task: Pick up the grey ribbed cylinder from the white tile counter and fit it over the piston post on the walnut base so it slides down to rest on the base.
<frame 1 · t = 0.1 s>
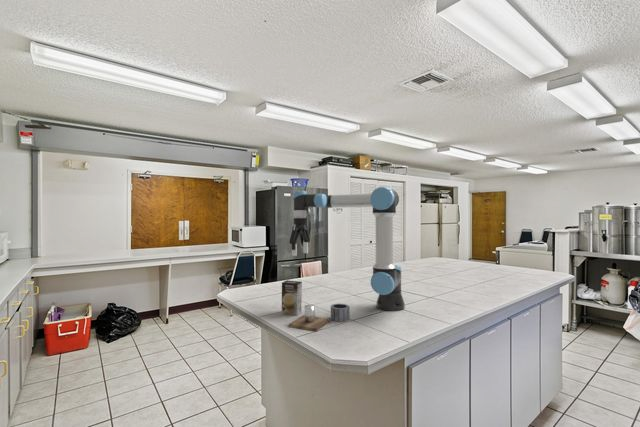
hand: (300, 254, 180), 28 cm above the table, fingers open, 13 cm apart
base: (309, 323, 144), on the table
coffee box: (291, 313, 161), on the table
grey ribbed cylinder: (340, 318, 152), on the table
post: (309, 313, 144), on the base, point 5 cm above the table
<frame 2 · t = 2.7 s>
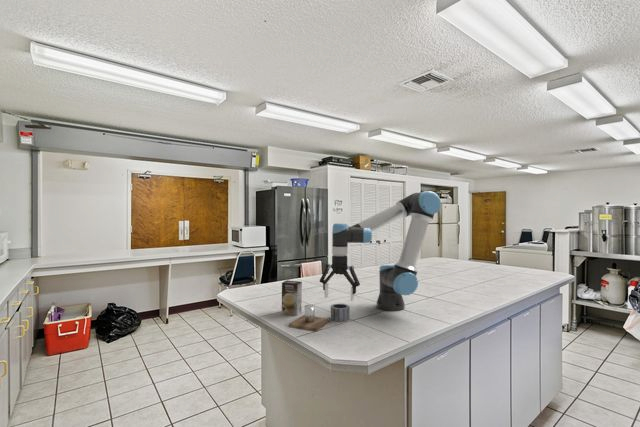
hand: (339, 298, 152), 10 cm above the table, fingers open, 13 cm apart
nothing on the table moved.
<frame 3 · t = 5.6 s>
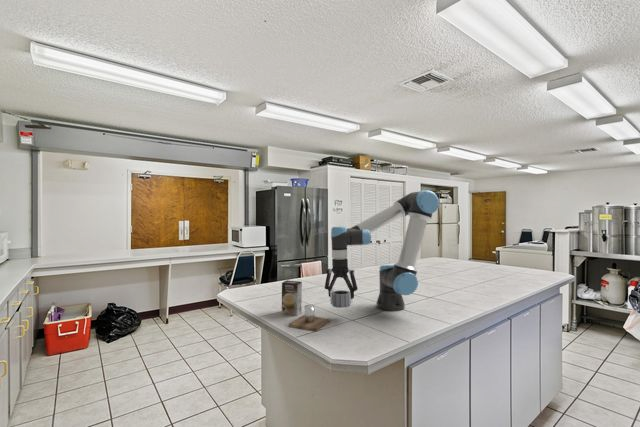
hand: (341, 304, 152), 7 cm above the table, fingers closed on grey ribbed cylinder, 9 cm apart
grey ribbed cylinder: (341, 304, 152), point 7 cm above the table, touching gripper
everything else where it was.
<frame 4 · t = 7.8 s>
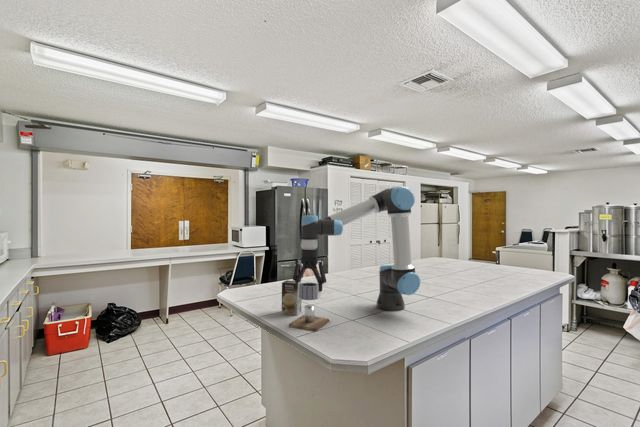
hand: (309, 297, 144), 12 cm above the table, fingers closed on grey ribbed cylinder, 9 cm apart
grey ribbed cylinder: (309, 297, 144), point 12 cm above the table, touching gripper
everything else where it was.
when the fingers open (5 cm above the table, at t = 9.9 s): grey ribbed cylinder drops 3 cm, resting on base.
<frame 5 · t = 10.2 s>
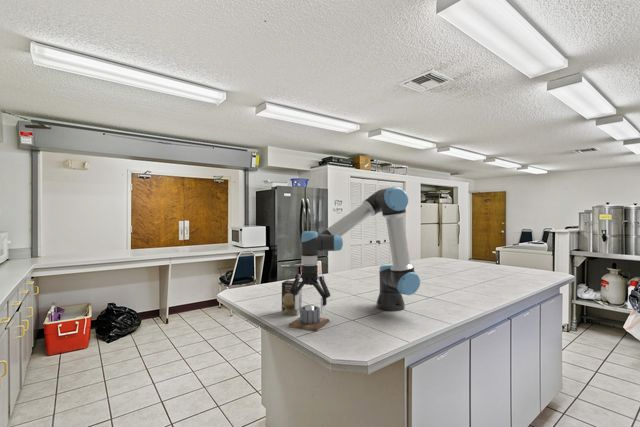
hand: (309, 310, 144), 6 cm above the table, fingers open, 13 cm apart
grey ribbed cylinder: (309, 321, 144), point 1 cm above the table, touching base
everything else where it was.
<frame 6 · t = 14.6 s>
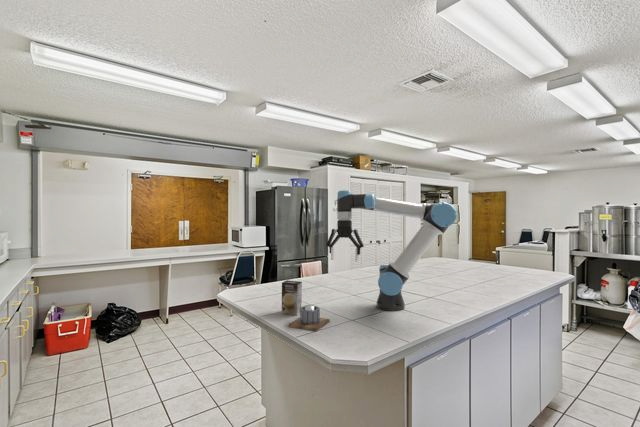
hand: (344, 260, 164), 27 cm above the table, fingers open, 13 cm apart
nothing on the table moved.
at the end: grey ribbed cylinder 0.1 cm from the post (horizontally); grey ribbed cylinder point 1.2 cm above the table; grey ribbed cylinder tilted 0° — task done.
